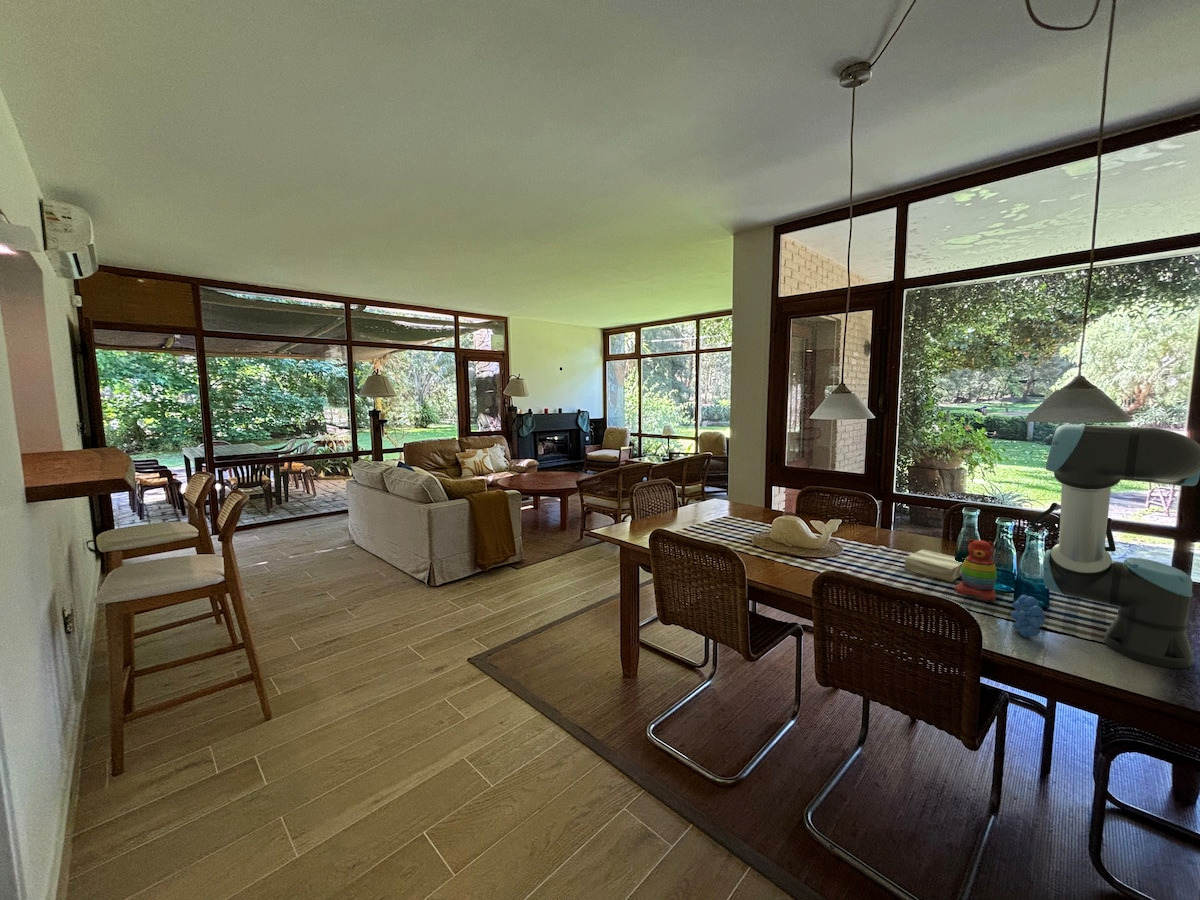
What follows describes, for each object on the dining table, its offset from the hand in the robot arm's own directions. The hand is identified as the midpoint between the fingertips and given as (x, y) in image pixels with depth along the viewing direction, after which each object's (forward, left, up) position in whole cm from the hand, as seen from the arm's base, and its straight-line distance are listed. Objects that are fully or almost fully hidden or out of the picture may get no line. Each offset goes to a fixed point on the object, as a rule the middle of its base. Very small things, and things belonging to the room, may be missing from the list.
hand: (1060, 559), depth 153 cm
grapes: (-35, -2, -14) cm, 38 cm away
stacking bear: (-12, +17, -14) cm, 25 cm away
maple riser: (-1, +33, -14) cm, 36 cm away
